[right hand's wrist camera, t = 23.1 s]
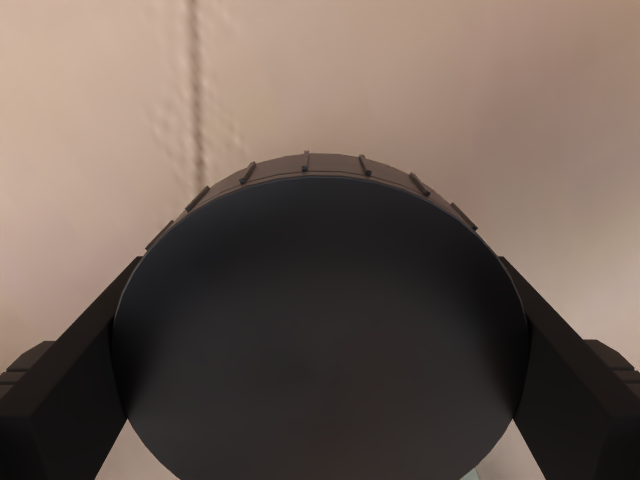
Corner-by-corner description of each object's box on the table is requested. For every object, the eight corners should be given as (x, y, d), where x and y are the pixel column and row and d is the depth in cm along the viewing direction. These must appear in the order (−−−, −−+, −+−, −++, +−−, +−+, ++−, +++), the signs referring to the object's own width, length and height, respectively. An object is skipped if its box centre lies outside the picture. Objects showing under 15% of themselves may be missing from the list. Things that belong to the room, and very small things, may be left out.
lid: (229, 74, 10) (204, 76, 8) (568, 255, 12) (626, 299, 9) (99, 383, 13) (55, 446, 11) (382, 493, 15) (393, 568, 12)
